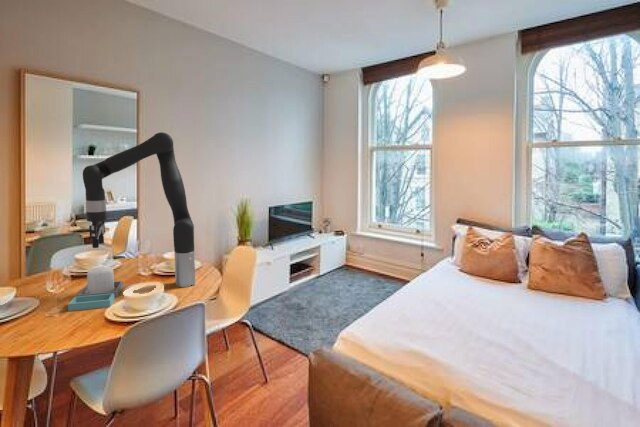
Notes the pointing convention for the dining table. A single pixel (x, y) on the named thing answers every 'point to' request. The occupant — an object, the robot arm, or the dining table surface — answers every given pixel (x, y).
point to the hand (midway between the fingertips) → (98, 245)
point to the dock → (91, 302)
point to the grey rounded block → (100, 280)
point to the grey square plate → (116, 284)
